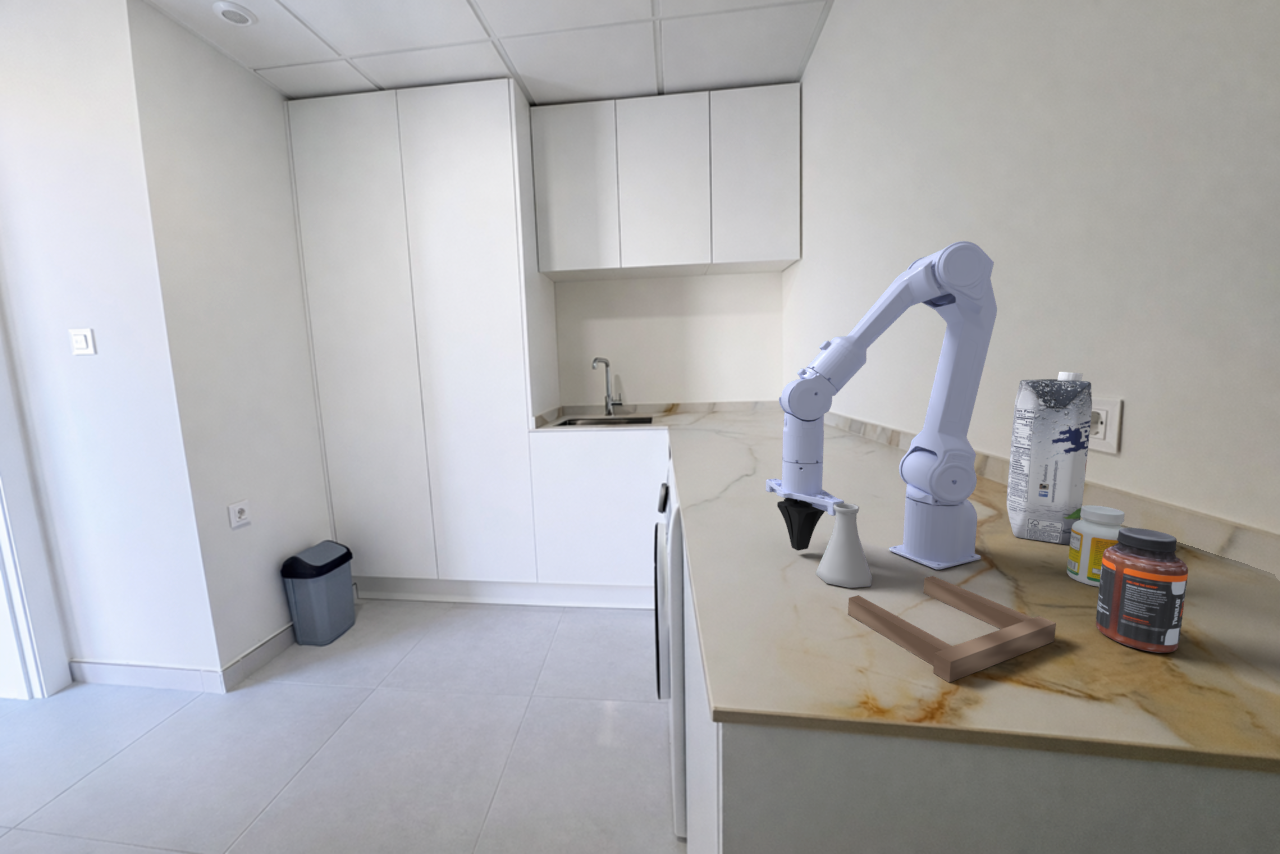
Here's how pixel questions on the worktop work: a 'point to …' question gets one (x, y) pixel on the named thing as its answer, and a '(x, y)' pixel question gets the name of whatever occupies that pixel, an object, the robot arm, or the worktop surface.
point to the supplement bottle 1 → (1092, 542)
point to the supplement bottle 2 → (1142, 591)
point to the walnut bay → (968, 656)
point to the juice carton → (1049, 457)
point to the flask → (845, 552)
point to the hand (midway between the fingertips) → (799, 548)
